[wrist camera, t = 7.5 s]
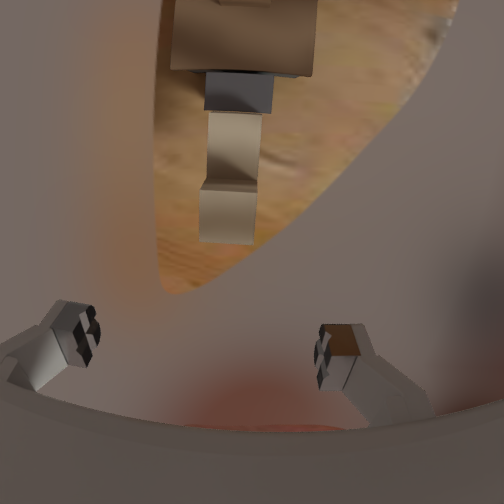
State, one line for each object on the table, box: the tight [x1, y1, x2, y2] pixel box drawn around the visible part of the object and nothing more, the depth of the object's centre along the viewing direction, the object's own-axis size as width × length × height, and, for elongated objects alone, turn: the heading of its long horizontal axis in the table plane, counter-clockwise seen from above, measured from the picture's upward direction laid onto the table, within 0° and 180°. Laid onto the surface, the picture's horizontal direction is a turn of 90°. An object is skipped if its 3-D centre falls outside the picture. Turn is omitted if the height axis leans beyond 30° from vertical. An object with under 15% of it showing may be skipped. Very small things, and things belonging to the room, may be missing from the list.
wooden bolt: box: [199, 111, 262, 245], centre depth 21 cm, size 8×4×5 cm, turn 176°
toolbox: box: [188, 70, 299, 114], centre depth 21 cm, size 20×10×8 cm, turn 176°
